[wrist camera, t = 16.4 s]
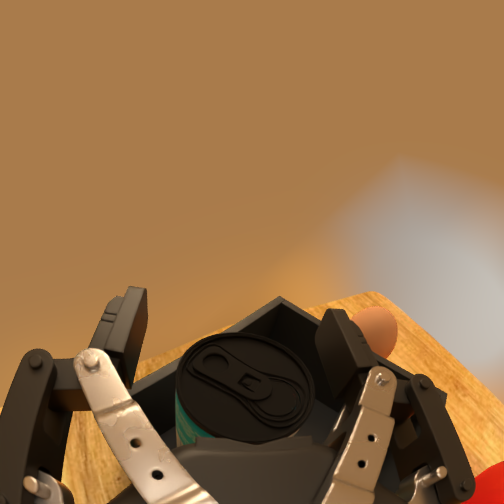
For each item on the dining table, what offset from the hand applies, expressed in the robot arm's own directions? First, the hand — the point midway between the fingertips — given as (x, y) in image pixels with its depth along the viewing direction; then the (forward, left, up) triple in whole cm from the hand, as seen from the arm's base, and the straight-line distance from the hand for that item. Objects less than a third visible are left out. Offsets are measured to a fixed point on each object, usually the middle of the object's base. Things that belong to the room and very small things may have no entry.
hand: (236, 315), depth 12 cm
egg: (+5, +23, -18) cm, 30 cm away
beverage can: (+2, -1, -17) cm, 17 cm away
